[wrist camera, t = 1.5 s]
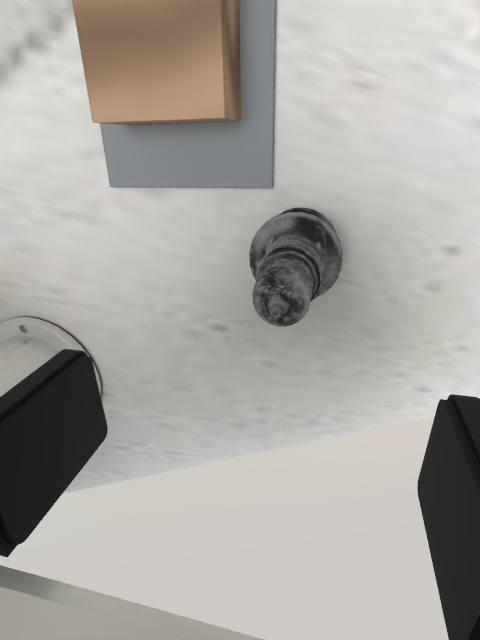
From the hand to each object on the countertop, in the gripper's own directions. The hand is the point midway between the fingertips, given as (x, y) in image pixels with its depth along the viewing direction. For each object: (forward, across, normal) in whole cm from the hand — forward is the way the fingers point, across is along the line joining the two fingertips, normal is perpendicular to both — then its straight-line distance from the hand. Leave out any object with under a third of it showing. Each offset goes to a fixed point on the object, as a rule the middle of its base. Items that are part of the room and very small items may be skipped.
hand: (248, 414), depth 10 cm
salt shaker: (+19, 0, 0) cm, 19 cm away
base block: (+18, +8, -12) cm, 23 cm away
